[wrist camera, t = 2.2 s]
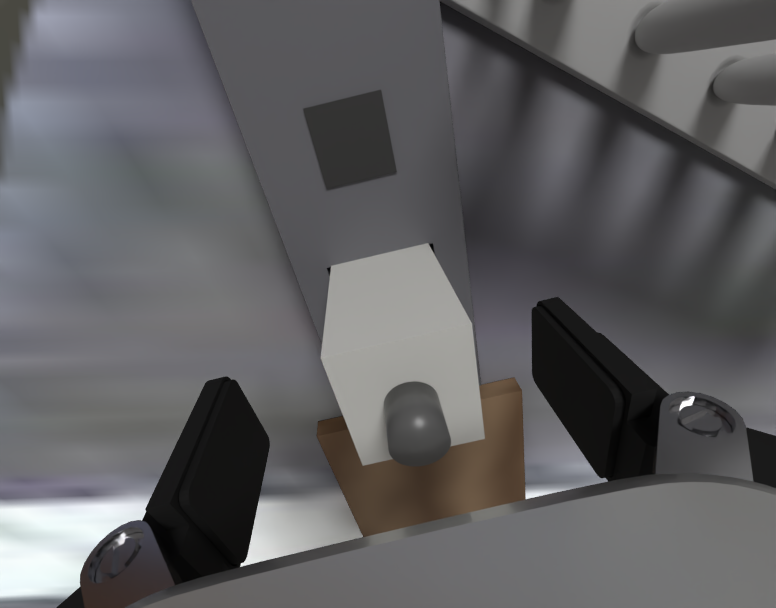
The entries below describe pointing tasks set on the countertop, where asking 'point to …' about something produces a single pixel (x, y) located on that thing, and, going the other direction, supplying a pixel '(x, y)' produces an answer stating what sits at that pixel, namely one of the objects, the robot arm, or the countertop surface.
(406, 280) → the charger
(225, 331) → the countertop surface
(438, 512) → the walnut board
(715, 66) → the test tube rack
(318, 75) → the power strip
